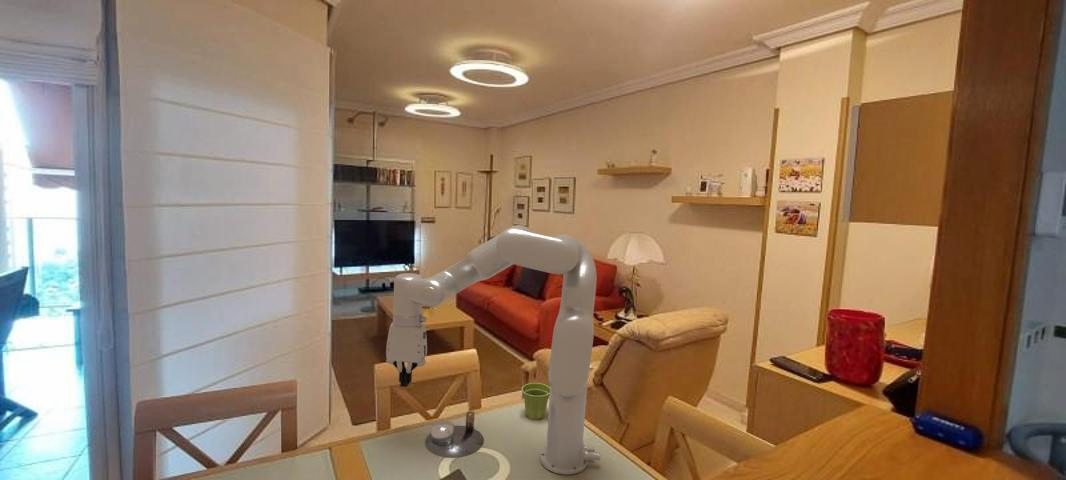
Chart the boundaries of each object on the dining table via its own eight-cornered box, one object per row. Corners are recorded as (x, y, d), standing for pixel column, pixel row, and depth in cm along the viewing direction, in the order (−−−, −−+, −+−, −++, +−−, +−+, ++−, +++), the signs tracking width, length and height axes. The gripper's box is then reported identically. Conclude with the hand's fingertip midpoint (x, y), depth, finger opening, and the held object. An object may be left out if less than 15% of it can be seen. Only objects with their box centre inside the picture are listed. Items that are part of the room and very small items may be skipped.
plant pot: (547, 424, 139) (548, 397, 138) (517, 420, 140) (518, 393, 139) (552, 410, 148) (553, 385, 147) (523, 406, 150) (525, 381, 149)
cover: (455, 434, 128) (456, 421, 128) (450, 446, 122) (450, 432, 122) (434, 432, 129) (435, 419, 128) (428, 444, 123) (428, 430, 122)
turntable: (488, 431, 133) (489, 411, 132) (477, 464, 117) (478, 442, 116) (434, 426, 134) (434, 407, 133) (416, 458, 118) (417, 436, 117)
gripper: (438, 318, 126) (435, 381, 128) (385, 313, 127) (383, 376, 129) (430, 326, 118) (427, 393, 120) (374, 321, 119) (372, 388, 121)
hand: (405, 384), depth 125 cm, fingers closed
